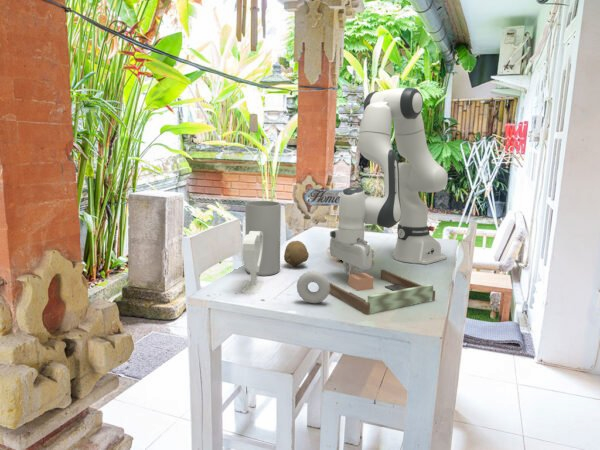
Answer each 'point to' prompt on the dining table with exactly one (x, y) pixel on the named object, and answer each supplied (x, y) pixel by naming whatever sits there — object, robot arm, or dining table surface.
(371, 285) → the terracotta block
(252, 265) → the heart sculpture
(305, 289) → the donut
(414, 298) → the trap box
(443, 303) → the dining table surface
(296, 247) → the natural sponge
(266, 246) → the cylinder vase
